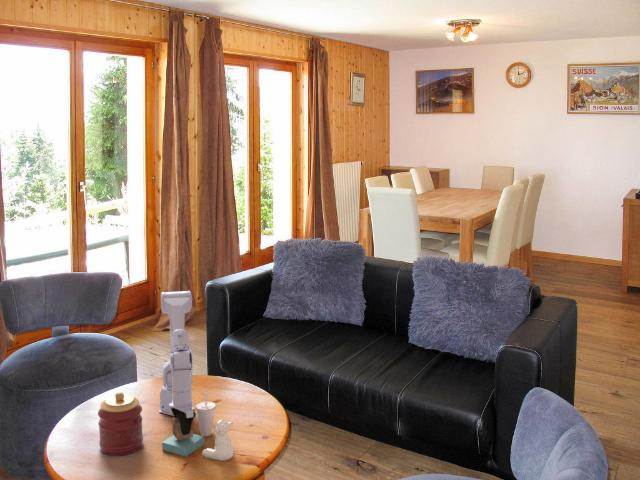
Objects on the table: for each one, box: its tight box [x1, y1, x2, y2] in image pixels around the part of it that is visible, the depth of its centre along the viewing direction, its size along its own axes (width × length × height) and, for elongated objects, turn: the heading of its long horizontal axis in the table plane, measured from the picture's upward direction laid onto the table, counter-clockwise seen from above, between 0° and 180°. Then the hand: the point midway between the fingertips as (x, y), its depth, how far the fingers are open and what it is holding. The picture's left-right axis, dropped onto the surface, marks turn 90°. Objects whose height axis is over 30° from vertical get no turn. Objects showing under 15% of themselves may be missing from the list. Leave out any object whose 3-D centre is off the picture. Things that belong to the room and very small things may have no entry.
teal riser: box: [161, 433, 205, 457], centre depth 206 cm, size 9×9×2 cm
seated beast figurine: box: [201, 419, 235, 462], centre depth 200 cm, size 10×9×12 cm
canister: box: [97, 391, 144, 457], centre depth 205 cm, size 13×13×18 cm
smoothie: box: [195, 392, 217, 437], centre depth 214 cm, size 6×6×14 cm
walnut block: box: [171, 417, 194, 440], centre depth 205 cm, size 5×5×5 cm
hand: (182, 430), depth 206 cm, fingers closed on walnut block, 5 cm apart
